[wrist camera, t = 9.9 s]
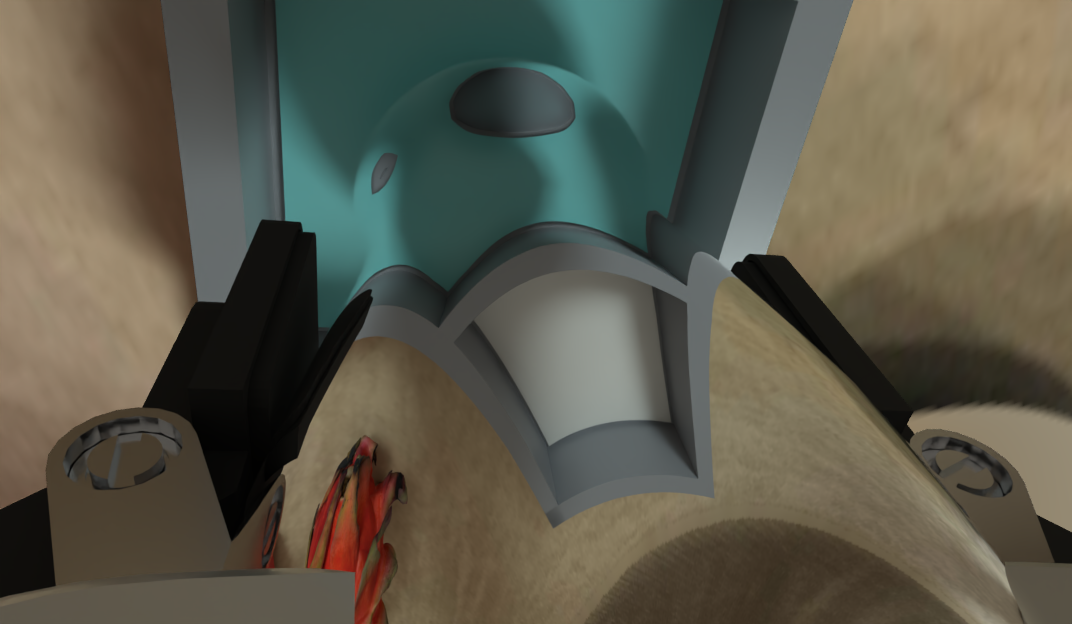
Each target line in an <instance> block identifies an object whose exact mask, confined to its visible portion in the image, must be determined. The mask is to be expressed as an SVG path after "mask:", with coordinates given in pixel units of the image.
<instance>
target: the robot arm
mask: <svg viewBox="0 0 1072 624" xmlns="http://www.w3.org/2000/svg"><path fill="white" fill-rule="evenodd" d="M731 272H733V273H734V274H735V275H736V276H738V277H739V278H740V279H741V280H742V281H744V282H745V283H746V284H747V285H748V286H750V287H751V288H752V289H753V290H755V291H756V292H757V293H758V294H759V295H761V296H762V297H763V298H764V299H765V300H767V301H768V302H769V303H770V304H771V305H773V306H774V307H775V308H776V309H777V310H778V311H780V312H781V313H782V314H783V315H784V316H785V317H786V318H787V319H788V320H789V321H790V322H791V323H793V324H794V325H795V326H796V327H797V328H798V329H799V330H800V331H801V332H802V333H803V334H804V335H805V336H806V337H807V338H808V339H809V340H810V341H811V342H812V343H814V344H815V345H816V346H817V347H818V348H819V349H820V350H821V351H822V352H823V353H824V354H825V355H826V356H827V357H828V358H829V359H830V360H831V361H832V362H833V363H834V364H836V365H837V366H838V367H839V368H840V369H841V370H842V371H843V372H844V373H845V374H846V375H847V376H848V377H849V378H850V379H851V380H852V381H853V382H854V383H855V384H857V385H858V386H859V387H860V388H861V389H862V390H863V391H864V392H865V393H866V394H867V395H868V396H869V397H870V398H871V399H872V401H873V402H874V403H875V404H876V405H877V406H878V408H879V409H880V410H881V411H882V412H883V414H884V415H885V416H886V417H887V418H888V419H889V421H890V422H891V423H892V424H893V425H894V427H895V428H896V429H897V430H898V431H899V432H900V434H901V435H902V436H903V437H904V438H905V440H906V441H907V442H908V443H909V444H910V445H911V447H912V448H913V449H914V450H915V451H916V453H917V454H918V455H919V456H920V457H921V458H922V460H923V461H924V462H925V463H926V464H927V466H928V467H929V468H930V469H931V470H932V471H933V473H934V474H935V475H936V476H937V477H938V479H939V480H940V481H941V482H942V483H943V485H944V486H945V487H946V488H947V489H948V490H949V492H950V493H951V494H952V495H953V496H954V498H955V499H956V500H957V501H958V502H959V503H960V505H961V506H962V507H963V508H964V509H965V511H966V512H967V513H968V514H969V515H970V516H971V518H972V519H973V520H974V521H975V523H976V524H977V525H978V527H979V528H980V529H981V531H982V532H983V533H984V535H985V536H986V537H987V539H988V540H989V541H990V543H991V544H992V545H993V547H994V548H995V550H996V551H997V552H998V554H999V555H1000V556H1001V558H1002V559H1003V560H1004V562H1005V563H1006V568H1007V569H1008V570H1009V572H1010V573H1011V574H1012V576H1013V577H1014V579H1015V580H1016V581H1017V583H1018V584H1019V585H1020V587H1021V588H1022V589H1023V591H1024V592H1025V594H1026V595H1027V596H1028V598H1029V599H1030V600H1031V602H1032V603H1033V604H1034V606H1035V607H1036V609H1037V610H1038V611H1039V613H1040V614H1041V615H1042V617H1043V618H1044V619H1045V621H1046V622H1047V624H1072V532H1070V531H1068V530H1066V529H1064V528H1062V527H1060V526H1058V525H1056V524H1054V523H1052V522H1050V521H1048V520H1046V519H1044V518H1042V517H1040V516H1038V515H1037V514H1036V512H1035V509H1034V507H1033V504H1032V501H1031V499H1030V496H1029V494H1028V491H1027V488H1026V486H1025V483H1024V481H1023V479H1022V478H1021V476H1020V474H1019V473H1018V471H1017V470H1016V469H1015V468H1014V467H1013V466H1012V465H1011V464H1010V463H1009V462H1008V461H1007V460H1006V459H1005V458H1004V457H1003V456H1001V455H1000V454H999V453H997V452H996V451H994V450H993V449H992V448H990V447H988V446H986V445H985V444H983V443H981V442H979V441H977V440H975V439H973V438H970V437H968V436H965V435H962V434H960V433H957V432H952V431H947V430H942V429H926V430H923V431H920V432H917V433H916V434H914V433H913V431H912V430H911V429H910V428H909V427H908V425H907V423H908V421H909V419H910V417H911V415H912V413H913V412H914V411H913V410H912V409H911V408H910V406H909V405H908V404H907V403H906V402H905V400H904V399H903V398H902V397H901V396H900V394H899V393H898V392H897V391H896V390H895V388H894V387H893V386H892V385H891V384H890V382H889V381H888V380H887V379H886V378H885V376H884V375H883V374H882V373H881V372H880V370H879V369H878V368H877V367H876V366H875V364H874V363H873V362H872V361H871V360H870V358H869V357H868V356H867V355H866V353H865V352H864V351H863V350H862V349H861V347H860V346H859V345H858V344H857V343H856V341H855V340H854V339H853V338H852V337H851V335H850V334H849V333H848V332H847V331H846V329H845V328H844V327H843V326H842V325H841V323H840V322H839V321H838V320H837V319H836V317H835V316H834V315H833V314H832V313H831V311H830V310H829V309H828V308H827V307H826V305H825V304H824V303H823V302H822V301H821V299H820V298H819V297H818V296H817V295H816V293H815V292H814V291H813V290H812V289H811V287H810V286H809V285H808V284H807V283H806V281H805V280H804V279H803V278H802V276H801V275H800V274H799V273H798V272H797V270H796V269H795V268H794V267H793V266H792V264H791V263H790V262H789V261H788V260H787V259H786V258H785V257H784V256H776V255H762V254H748V255H747V256H746V257H745V258H744V259H743V261H742V262H740V261H737V262H736V263H735V264H734V265H733V267H732V269H731ZM318 349H319V334H318V289H317V244H316V234H315V232H303V228H302V224H301V222H294V221H279V220H265V219H262V220H261V221H260V223H259V226H258V228H257V230H256V232H255V235H254V237H253V239H252V242H251V244H250V246H249V248H248V251H247V253H246V255H245V258H244V260H243V262H242V265H241V267H240V269H239V271H238V274H237V276H236V278H235V281H234V283H233V285H232V287H231V290H230V292H229V294H228V297H227V299H226V301H225V302H206V301H199V302H196V303H195V305H194V306H193V307H192V309H191V311H190V313H189V315H188V317H187V319H186V321H185V323H184V325H183V327H182V329H181V331H180V333H179V335H178V337H177V339H176V341H175V343H174V345H173V347H172V349H171V351H170V353H169V355H168V357H167V359H166V361H165V363H164V365H163V367H162V369H161V371H160V373H159V375H158V377H157V379H156V381H155V383H154V385H153V387H152V389H151V391H150V393H149V395H148V397H147V399H146V401H145V403H144V405H143V407H142V408H140V407H138V408H130V409H122V410H116V411H112V412H109V413H106V414H103V415H99V416H96V417H93V418H91V419H89V420H88V421H86V422H84V423H82V424H80V425H78V426H76V427H74V428H73V429H72V430H70V431H69V432H68V433H67V434H65V435H64V436H63V437H62V438H61V439H59V440H58V442H57V443H56V444H55V446H54V447H53V449H52V450H51V452H50V453H49V455H48V459H47V465H46V481H47V488H44V489H42V490H40V491H38V492H36V493H34V494H32V495H30V496H28V497H26V498H24V499H21V500H19V501H17V502H15V503H13V504H11V505H9V506H7V507H5V508H3V509H0V624H354V615H355V572H347V571H340V570H329V569H319V568H265V569H242V570H222V569H223V566H224V563H225V560H226V557H227V554H228V551H229V548H230V545H231V539H230V536H231V533H232V531H233V528H234V525H235V522H236V520H237V517H238V515H239V513H240V511H241V509H242V506H243V504H244V502H245V500H246V497H247V495H248V493H249V491H250V489H251V486H252V484H253V482H254V480H255V478H256V475H257V473H258V471H259V469H260V466H261V464H262V462H263V460H264V458H265V455H266V453H267V451H268V449H269V446H270V444H271V442H272V440H273V438H274V435H275V433H276V431H277V429H278V426H279V424H280V422H281V420H282V418H283V415H284V413H285V411H286V409H287V407H288V405H289V403H290V401H291V399H292V398H293V396H294V394H295V392H296V390H297V388H298V386H299V385H300V383H301V381H302V379H303V377H304V375H305V374H306V372H307V370H308V368H309V366H310V364H311V362H312V361H313V359H314V357H315V355H316V353H317V351H318Z"/></svg>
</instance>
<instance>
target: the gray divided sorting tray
mask: <svg viewBox="0 0 1072 624" xmlns="http://www.w3.org/2000/svg"><path fill="white" fill-rule="evenodd" d="M852 3H853V0H161V7H162V15H163V23H164V31H165V39H166V47H167V55H168V63H169V72H170V80H171V88H172V96H173V104H174V112H175V120H176V128H177V136H178V144H179V152H180V160H181V168H182V176H183V184H184V192H185V200H186V208H187V217H188V225H189V233H190V241H191V249H192V257H193V265H194V273H195V281H196V289H197V297H198V302H199V301H206V302H225V301H226V299H227V297H228V294H229V292H230V290H231V287H232V285H233V283H234V281H235V278H236V276H237V274H238V271H239V269H240V267H241V265H242V262H243V260H244V258H245V255H246V253H247V251H248V248H249V246H250V244H251V242H252V239H253V237H254V235H255V232H256V230H257V228H258V226H259V223H260V221H261V220H262V219H265V220H279V221H294V222H301V224H302V228H303V232H315V234H316V244H317V289H318V334H319V348H320V346H321V344H322V342H323V340H324V338H325V336H326V335H327V333H328V331H329V329H330V327H331V326H332V324H333V322H334V320H335V319H336V317H337V315H338V313H339V311H340V310H341V308H342V306H343V304H344V303H345V301H346V299H347V297H348V296H349V294H350V292H351V290H352V288H353V286H354V284H355V282H356V280H357V278H358V276H359V274H360V272H361V270H362V266H363V260H362V256H361V252H360V247H359V243H358V238H357V233H356V228H355V221H354V211H353V193H354V182H355V176H356V170H357V166H358V162H359V159H360V156H361V153H362V151H363V148H364V146H365V143H366V141H367V139H368V137H369V135H370V134H371V132H372V130H373V129H374V127H375V125H376V124H377V122H378V121H379V120H380V118H381V117H382V116H383V114H384V113H385V112H386V111H387V110H388V109H389V107H390V106H391V105H392V104H393V103H394V102H395V101H396V100H397V99H398V98H400V97H401V96H402V95H403V94H404V93H405V92H407V91H408V90H409V89H411V88H412V87H413V86H415V85H416V84H418V83H419V82H421V81H422V80H424V79H426V78H427V77H429V76H431V75H433V74H435V73H437V72H439V71H441V70H444V69H446V68H449V67H451V66H454V65H457V64H461V63H464V62H469V61H473V60H479V59H486V58H499V57H510V58H523V59H530V60H536V61H540V62H544V63H548V64H551V65H554V66H557V67H560V68H563V69H565V70H567V71H570V72H572V73H574V74H576V75H578V76H580V77H581V78H583V79H585V80H586V81H588V82H589V83H591V84H592V85H594V86H595V87H596V88H598V89H599V90H600V91H601V92H602V93H604V94H605V95H606V96H607V97H608V98H609V99H610V100H611V101H612V102H613V103H614V104H615V105H616V107H617V108H618V109H619V110H620V111H621V113H622V114H623V115H624V117H625V118H626V120H627V121H628V123H629V124H630V126H631V128H632V130H633V132H634V133H635V135H636V137H637V139H638V141H639V144H640V146H641V149H642V151H643V154H644V157H645V161H646V165H647V168H648V173H649V177H650V183H651V189H652V195H653V201H654V206H655V208H656V209H657V210H658V212H660V213H661V214H662V215H663V216H664V217H665V218H666V219H667V220H669V221H670V222H671V223H672V224H673V225H674V226H675V227H677V228H678V229H679V230H680V231H682V232H683V233H684V234H685V235H687V236H688V237H689V238H690V239H692V240H693V241H694V242H695V243H697V244H698V245H699V246H701V247H702V248H703V249H704V250H706V251H707V252H708V253H709V254H711V255H712V256H713V257H714V258H716V259H717V260H718V261H719V262H721V263H722V264H723V265H724V266H725V267H727V268H728V269H729V270H730V271H731V269H732V267H733V265H734V264H735V263H736V262H737V261H740V262H742V261H743V259H744V258H745V257H746V256H747V255H748V254H762V255H766V252H767V249H768V246H769V243H770V240H771V237H772V235H773V232H774V229H775V226H776V223H777V220H778V217H779V214H780V211H781V209H782V206H783V203H784V200H785V197H786V194H787V191H788V188H789V185H790V182H791V180H792V177H793V174H794V171H795V168H796V165H797V162H798V159H799V156H800V153H801V151H802V148H803V145H804V142H805V139H806V136H807V133H808V130H809V127H810V124H811V122H812V119H813V116H814V113H815V110H816V107H817V104H818V101H819V98H820V95H821V93H822V90H823V87H824V84H825V81H826V78H827V75H828V72H829V69H830V66H831V64H832V61H833V58H834V55H835V52H836V49H837V46H838V43H839V40H840V37H841V35H842V32H843V29H844V26H845V23H846V20H847V17H848V14H849V11H850V8H851V6H852Z"/></svg>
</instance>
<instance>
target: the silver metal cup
mask: <svg viewBox="0 0 1072 624" xmlns="http://www.w3.org/2000/svg"><path fill="white" fill-rule="evenodd" d="M353 211H354V221H355V228H356V233H357V238H358V243H359V247H360V252H361V256H362V260H363V266H362V270H361V272H360V274H359V276H358V278H357V280H356V282H355V284H354V286H353V288H352V290H351V292H350V294H349V296H348V297H347V299H346V301H345V303H344V304H343V306H342V308H341V310H340V311H339V313H338V315H337V317H336V319H335V320H334V322H333V324H332V326H331V327H330V329H329V331H328V333H327V335H326V336H325V338H324V340H323V342H322V344H321V346H320V348H319V349H318V351H317V353H316V355H315V357H314V359H313V361H312V362H311V364H310V366H309V368H308V370H307V372H306V374H305V375H304V377H303V379H302V381H301V383H300V385H299V386H298V388H297V390H296V392H295V394H294V396H293V398H292V399H291V401H290V403H289V405H288V407H287V409H286V411H285V413H284V415H283V418H282V420H281V422H280V424H279V426H278V429H277V431H276V433H275V435H274V438H273V440H272V442H271V444H270V446H269V449H268V451H267V453H266V455H265V458H264V460H263V462H262V464H261V466H260V469H259V471H258V473H257V475H256V478H255V480H254V482H253V484H252V486H251V489H250V491H249V493H248V495H247V497H246V500H245V502H244V504H243V506H242V509H241V511H240V513H239V515H238V517H237V520H236V522H235V525H234V528H233V531H232V533H231V536H230V539H231V545H230V548H229V551H228V554H227V557H226V560H225V563H224V566H223V569H222V570H242V569H265V568H319V569H329V570H340V571H347V572H355V615H354V624H1047V622H1046V621H1045V619H1044V618H1043V617H1042V615H1041V614H1040V613H1039V611H1038V610H1037V609H1036V607H1035V606H1034V604H1033V603H1032V602H1031V600H1030V599H1029V598H1028V596H1027V595H1026V594H1025V592H1024V591H1023V589H1022V588H1021V587H1020V585H1019V584H1018V583H1017V581H1016V580H1015V579H1014V577H1013V576H1012V574H1011V573H1010V572H1009V570H1008V569H1007V568H1006V563H1005V562H1004V560H1003V559H1002V558H1001V556H1000V555H999V554H998V552H997V551H996V550H995V548H994V547H993V545H992V544H991V543H990V541H989V540H988V539H987V537H986V536H985V535H984V533H983V532H982V531H981V529H980V528H979V527H978V525H977V524H976V523H975V521H974V520H973V519H972V518H971V516H970V515H969V514H968V513H967V512H966V511H965V509H964V508H963V507H962V506H961V505H960V503H959V502H958V501H957V500H956V499H955V498H954V496H953V495H952V494H951V493H950V492H949V490H948V489H947V488H946V487H945V486H944V485H943V483H942V482H941V481H940V480H939V479H938V477H937V476H936V475H935V474H934V473H933V471H932V470H931V469H930V468H929V467H928V466H927V464H926V463H925V462H924V461H923V460H922V458H921V457H920V456H919V455H918V454H917V453H916V451H915V450H914V449H913V448H912V447H911V445H910V444H909V443H908V442H907V441H906V440H905V438H904V437H903V436H902V435H901V434H900V432H899V431H898V430H897V429H896V428H895V427H894V425H893V424H892V423H891V422H890V421H889V419H888V418H887V417H886V416H885V415H884V414H883V412H882V411H881V410H880V409H879V408H878V406H877V405H876V404H875V403H874V402H873V401H872V399H871V398H870V397H869V396H868V395H867V394H866V393H865V392H864V391H863V390H862V389H861V388H860V387H859V386H858V385H857V384H855V383H854V382H853V381H852V380H851V379H850V378H849V377H848V376H847V375H846V374H845V373H844V372H843V371H842V370H841V369H840V368H839V367H838V366H837V365H836V364H834V363H833V362H832V361H831V360H830V359H829V358H828V357H827V356H826V355H825V354H824V353H823V352H822V351H821V350H820V349H819V348H818V347H817V346H816V345H815V344H814V343H812V342H811V341H810V340H809V339H808V338H807V337H806V336H805V335H804V334H803V333H802V332H801V331H800V330H799V329H798V328H797V327H796V326H795V325H794V324H793V323H791V322H790V321H789V320H788V319H787V318H786V317H785V316H784V315H783V314H782V313H781V312H780V311H778V310H777V309H776V308H775V307H774V306H773V305H771V304H770V303H769V302H768V301H767V300H765V299H764V298H763V297H762V296H761V295H759V294H758V293H757V292H756V291H755V290H753V289H752V288H751V287H750V286H748V285H747V284H746V283H745V282H744V281H742V280H741V279H740V278H739V277H738V276H736V275H735V274H734V273H733V272H731V271H730V270H729V269H728V268H727V267H725V266H724V265H723V264H722V263H721V262H719V261H718V260H717V259H716V258H714V257H713V256H712V255H711V254H709V253H708V252H707V251H706V250H704V249H703V248H702V247H701V246H699V245H698V244H697V243H695V242H694V241H693V240H692V239H690V238H689V237H688V236H687V235H685V234H684V233H683V232H682V231H680V230H679V229H678V228H677V227H675V226H674V225H673V224H672V223H671V222H670V221H669V220H667V219H666V218H665V217H664V216H663V215H662V214H661V213H660V212H658V210H657V209H656V208H655V206H654V201H653V195H652V189H651V183H650V177H649V173H648V168H647V165H646V161H645V157H644V154H643V151H642V149H641V146H640V144H639V141H638V139H637V137H636V135H635V133H634V132H633V130H632V128H631V126H630V124H629V123H628V121H627V120H626V118H625V117H624V115H623V114H622V113H621V111H620V110H619V109H618V108H617V107H616V105H615V104H614V103H613V102H612V101H611V100H610V99H609V98H608V97H607V96H606V95H605V94H604V93H602V92H601V91H600V90H599V89H598V88H596V87H595V86H594V85H592V84H591V83H589V82H588V81H586V80H585V79H583V78H581V77H580V76H578V75H576V74H574V73H572V72H570V71H567V70H565V69H563V68H560V67H557V66H554V65H551V64H548V63H544V62H540V61H536V60H530V59H523V58H510V57H499V58H486V59H479V60H473V61H469V62H464V63H461V64H457V65H454V66H451V67H449V68H446V69H444V70H441V71H439V72H437V73H435V74H433V75H431V76H429V77H427V78H426V79H424V80H422V81H421V82H419V83H418V84H416V85H415V86H413V87H412V88H411V89H409V90H408V91H407V92H405V93H404V94H403V95H402V96H401V97H400V98H398V99H397V100H396V101H395V102H394V103H393V104H392V105H391V106H390V107H389V109H388V110H387V111H386V112H385V113H384V114H383V116H382V117H381V118H380V120H379V121H378V122H377V124H376V125H375V127H374V129H373V130H372V132H371V134H370V135H369V137H368V139H367V141H366V143H365V146H364V148H363V151H362V153H361V156H360V159H359V162H358V166H357V170H356V176H355V182H354V193H353Z"/></svg>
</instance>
